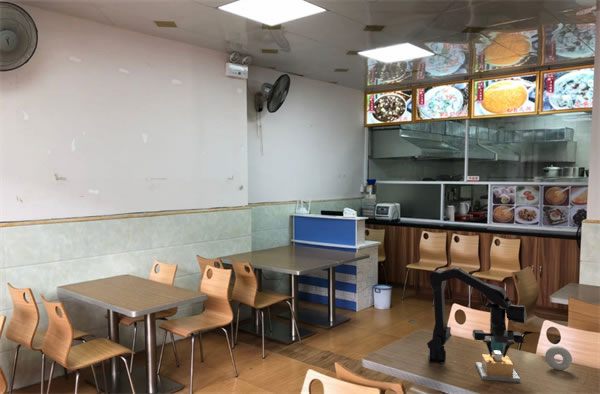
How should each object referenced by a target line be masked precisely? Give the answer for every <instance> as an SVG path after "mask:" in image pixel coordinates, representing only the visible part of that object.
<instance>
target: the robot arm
mask: <svg viewBox="0 0 600 394" xmlns="http://www.w3.org/2000/svg"><path fill="white" fill-rule="evenodd" d="M428 279H429V284H430V287H431V289H432V291H433V306H434V307H433V308H434V327H433V332H432V339H430V340H429V341H428V342H426V344H427V348H428V362H430V363H435V364H436V363H439V364H445V363H446V359H447V357H446V356H447V352H446V349H445V344H447V342H448V341H450V338H451V337H452V333H451V329H452V328H451V326H448V325H447V322H446V321H447V319H446V303H445V302H446V301H445V288H446V284H447V281H448V280H451V279H457V280H459V281H460V282H462V283H464V284H466V285H468V286H470V288H473V289H474V290H477V291H479V292H480V293H481V294H483V296H484V297H485V298H486V299H487V300H489V301H488V303H486V304H485V305H484V306H485V308H489V309H490V310H489V311H490V312H489V313H490V314H489V315H490V319H489V321H490V322H489V323H490V324H489V332H484V330H483V329H473V330H472V337H473V339H474V340H475V341H482V342H483V343H485V344H486V347H487V350H488V355H490V356H491V357H492V354H493V352H492V350H491V340H490V339H491V338H494V339H495V342H497V343H503V354H502V356H503V358H505V356H507V353H508V350H509V348H510V347H511V346H513V345H515V343H516V344H524V343H525V339H524V336H523V334H521V333H520V332H519V331H514V330H511V329H510V330H509V329H507V324H506V323H505V322H507V321H506V319H507V320H508V321H509V322H512V323H518V324H524V325H525V324H526V322H527V314H528V313H527V310H526V306H525V305H517V304H513V302H512V301H511V299H510V298H509V296H508V294H507V291H506V290H505V288H503V287H501V286H498V285H495V284H490V283H487V282H485V281H484V280H482V279H480V278H478V277H476V276H474V275H472V274H470V273H469V272H468V271H465V270H463V269H462V268H461V267H458V266H456V267H453V268H450V269H446V270H441V269H436V270H434V271H433V272H431V273H430V274H429V276H428Z"/></svg>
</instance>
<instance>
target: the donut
mask: <svg viewBox="0 0 600 394" xmlns="http://www.w3.org/2000/svg"><path fill="white" fill-rule="evenodd" d="M544 355H545V356H544V359H545V362H546V363H547V365H548V366H549V367H550V368H552V369H553V370H556V371H565V370H567V369H569V368H570V367H571V365H572V363H573V357H572V354H571V352H570V351H569V350H568V349H566V348H565V347H563V346H559V345H554V346H550V347H549V348H548V349H546V351H545V353H544ZM556 355H559V356H560V357H562V360H560V361H557V360H556V359H555V356H556Z"/></svg>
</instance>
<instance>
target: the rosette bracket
mask: <svg viewBox="0 0 600 394" xmlns="http://www.w3.org/2000/svg"><path fill="white" fill-rule="evenodd" d="M475 366H476V369H477V371H478V372H479V375H480V377H481V380H484V381H498V382H499V381H500V382H508V383H510V382H511V383H521V378H520V376H519V375H518V373H517V372H516V370H515V368H514V364H513V362H512V361H511V359H510V357H509V356H508V355H505V358H503V355H502V362H496V361H494V360H493V353H492V357H491V356H490V354H484V353H483V354H481V362H477V361H476V362H475Z"/></svg>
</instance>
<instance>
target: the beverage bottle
mask: <svg viewBox="0 0 600 394" xmlns="http://www.w3.org/2000/svg"><path fill="white" fill-rule="evenodd" d="M506 323H507V321H505V324H506ZM490 341H491V350H492V353H493V351H494V350H498V351H500V352H501V354H502V355H503V343H497V342H495V339H494V338H490Z"/></svg>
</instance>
